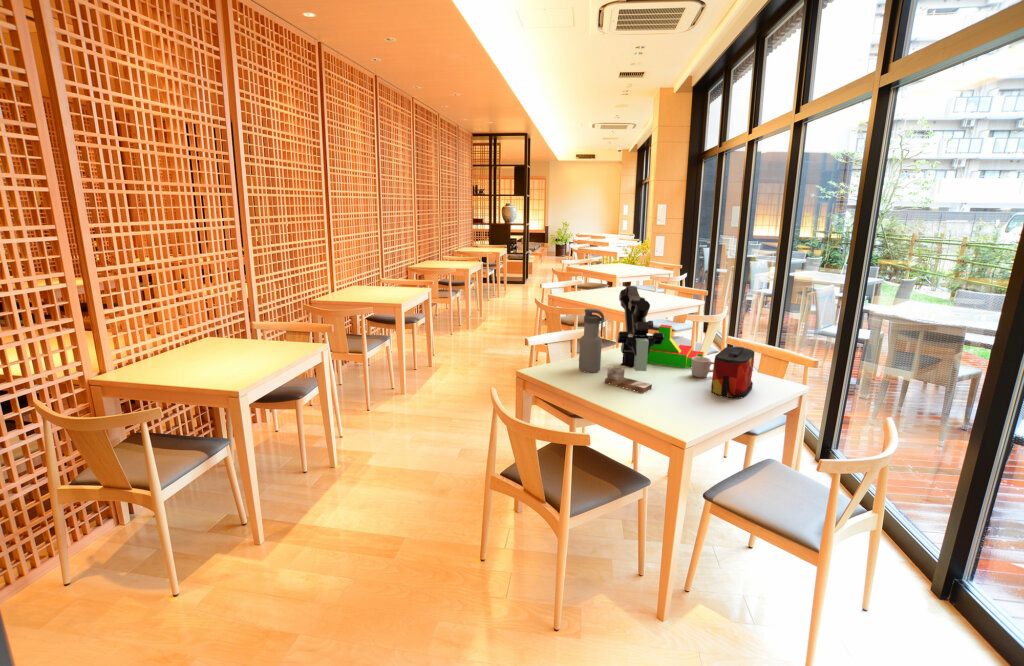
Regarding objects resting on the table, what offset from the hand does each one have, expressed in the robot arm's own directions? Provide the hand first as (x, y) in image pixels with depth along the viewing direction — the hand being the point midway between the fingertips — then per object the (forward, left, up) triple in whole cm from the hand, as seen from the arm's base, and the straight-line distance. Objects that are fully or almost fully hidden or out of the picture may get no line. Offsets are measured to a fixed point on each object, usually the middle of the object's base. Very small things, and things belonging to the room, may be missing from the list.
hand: (641, 355), depth 220 cm
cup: (+15, +29, -12) cm, 35 cm away
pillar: (-1, +1, -7) cm, 7 cm away
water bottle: (-26, +1, -12) cm, 29 cm away
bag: (+31, +21, -13) cm, 40 cm away
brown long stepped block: (-2, -7, -12) cm, 14 cm away
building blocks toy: (-5, +43, -13) cm, 45 cm away
